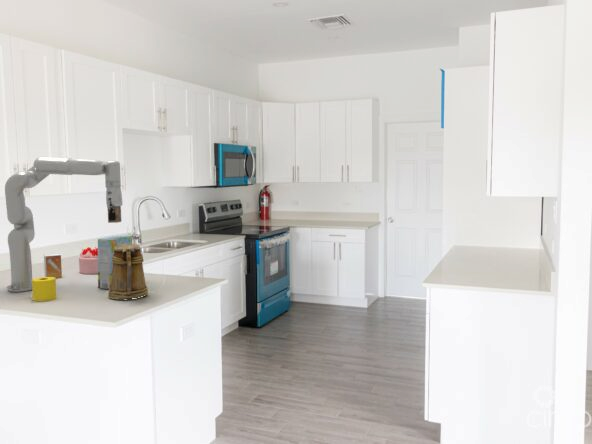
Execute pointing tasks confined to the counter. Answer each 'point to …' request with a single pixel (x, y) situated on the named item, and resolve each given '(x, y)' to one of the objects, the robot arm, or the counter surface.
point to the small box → (53, 265)
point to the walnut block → (116, 215)
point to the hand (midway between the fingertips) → (114, 219)
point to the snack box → (108, 257)
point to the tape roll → (44, 288)
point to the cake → (88, 261)
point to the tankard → (127, 273)
